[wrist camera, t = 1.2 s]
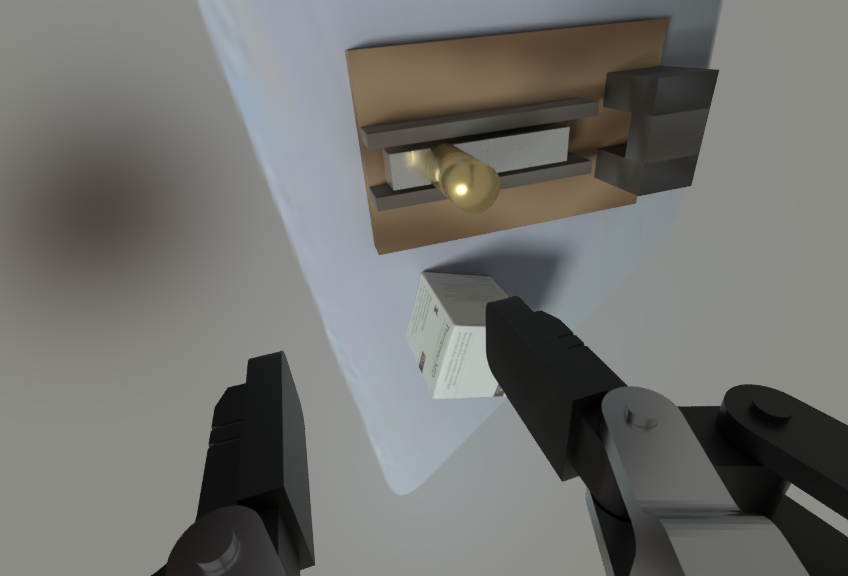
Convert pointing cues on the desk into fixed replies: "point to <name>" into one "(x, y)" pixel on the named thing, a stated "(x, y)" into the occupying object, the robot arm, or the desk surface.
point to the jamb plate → (529, 122)
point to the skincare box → (453, 334)
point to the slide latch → (474, 162)
